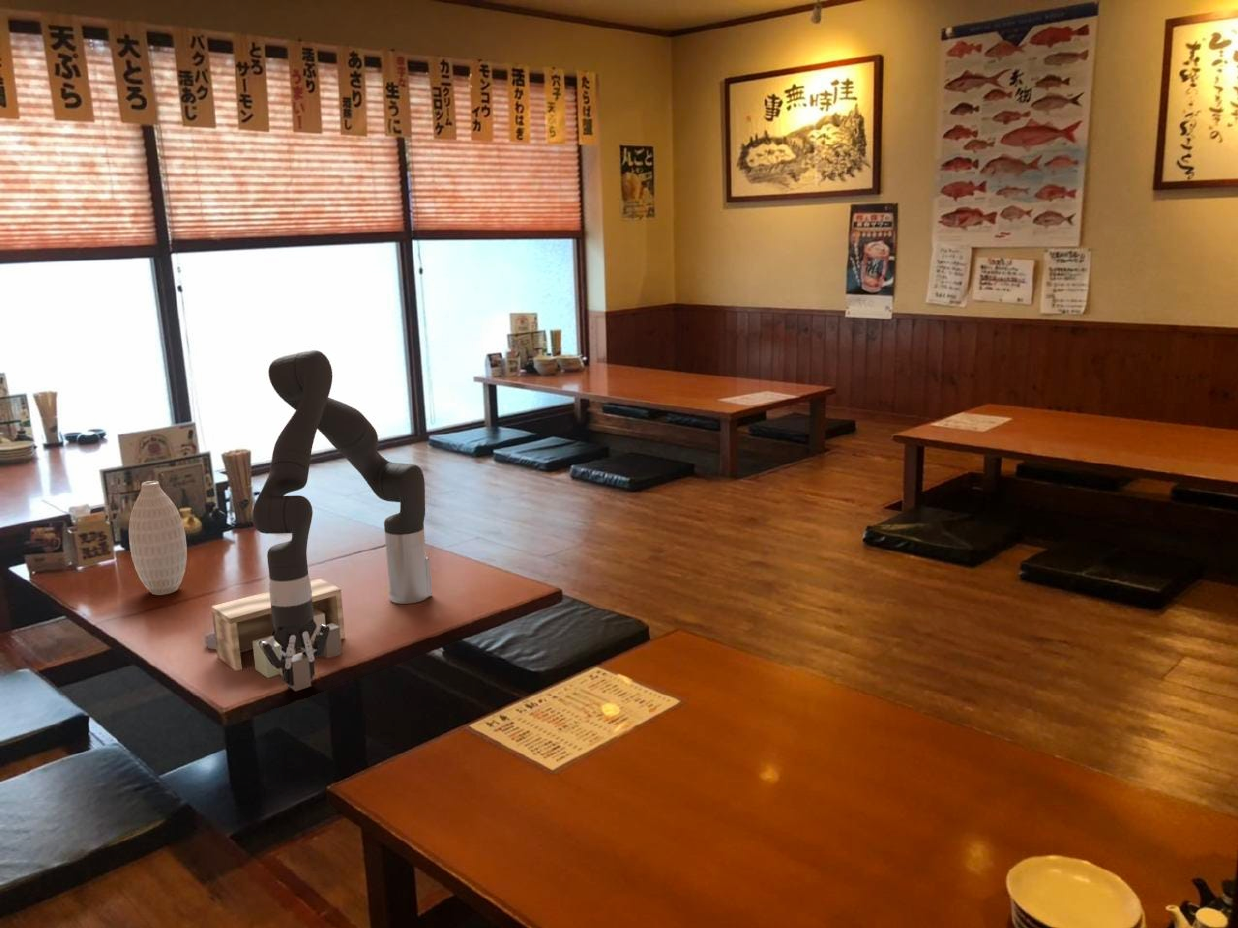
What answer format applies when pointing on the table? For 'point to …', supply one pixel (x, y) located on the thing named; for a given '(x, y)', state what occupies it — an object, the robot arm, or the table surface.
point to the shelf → (264, 620)
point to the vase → (157, 540)
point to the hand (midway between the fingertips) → (299, 681)
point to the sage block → (264, 666)
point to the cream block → (333, 638)
